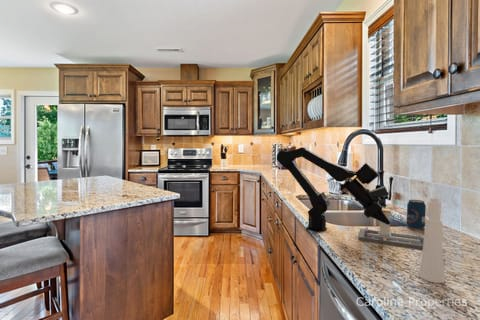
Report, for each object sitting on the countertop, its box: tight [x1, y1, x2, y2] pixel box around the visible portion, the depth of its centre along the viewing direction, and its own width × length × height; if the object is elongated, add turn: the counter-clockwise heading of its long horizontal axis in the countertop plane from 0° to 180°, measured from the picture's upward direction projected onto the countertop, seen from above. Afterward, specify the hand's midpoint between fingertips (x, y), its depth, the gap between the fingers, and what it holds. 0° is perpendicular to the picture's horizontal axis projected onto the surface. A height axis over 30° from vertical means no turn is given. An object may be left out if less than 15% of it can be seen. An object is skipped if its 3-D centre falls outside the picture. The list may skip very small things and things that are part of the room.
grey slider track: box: [358, 227, 424, 250], centre depth 104 cm, size 24×12×3 cm, turn 63°
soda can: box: [406, 199, 427, 230], centre depth 121 cm, size 7×7×12 cm
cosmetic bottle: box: [417, 196, 446, 284], centre depth 74 cm, size 6×6×22 cm
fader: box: [378, 207, 392, 236], centre depth 105 cm, size 4×4×10 cm
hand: (389, 222), depth 105 cm, fingers closed on fader, 3 cm apart
